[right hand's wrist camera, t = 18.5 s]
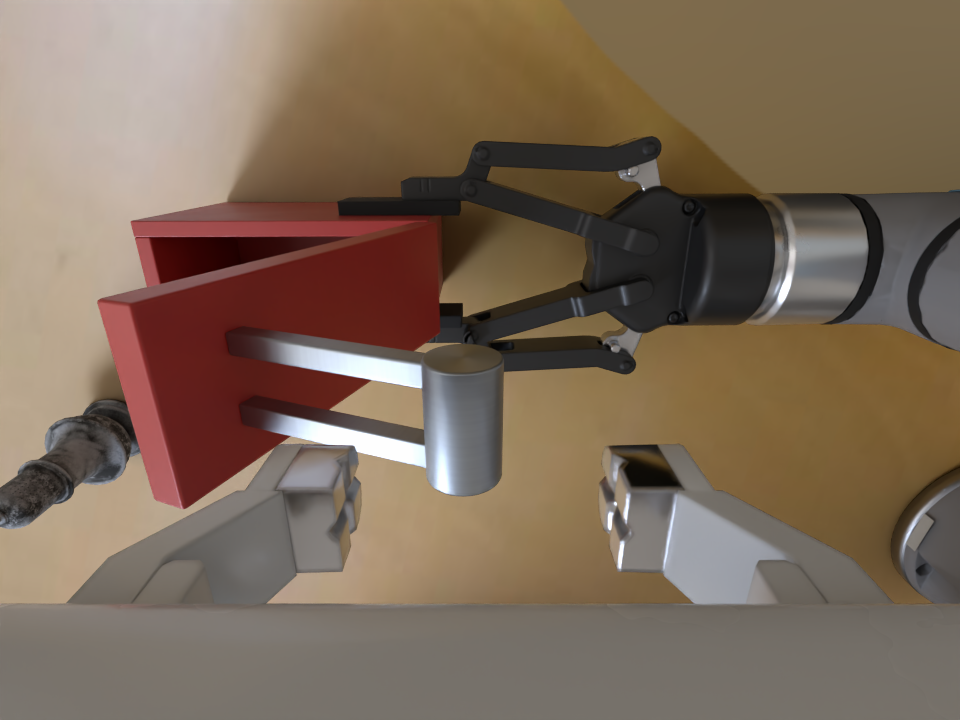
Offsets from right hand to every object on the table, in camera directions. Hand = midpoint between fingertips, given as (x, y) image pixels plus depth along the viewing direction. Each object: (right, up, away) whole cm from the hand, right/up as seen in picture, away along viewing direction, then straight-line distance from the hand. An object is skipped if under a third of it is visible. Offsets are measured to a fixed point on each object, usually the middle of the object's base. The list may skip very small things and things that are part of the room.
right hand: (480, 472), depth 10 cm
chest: (-10, +11, +26) cm, 30 cm away
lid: (-6, +4, +9) cm, 12 cm away
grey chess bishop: (-30, -3, +32) cm, 43 cm away
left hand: (-8, +8, +20) cm, 22 cm away
